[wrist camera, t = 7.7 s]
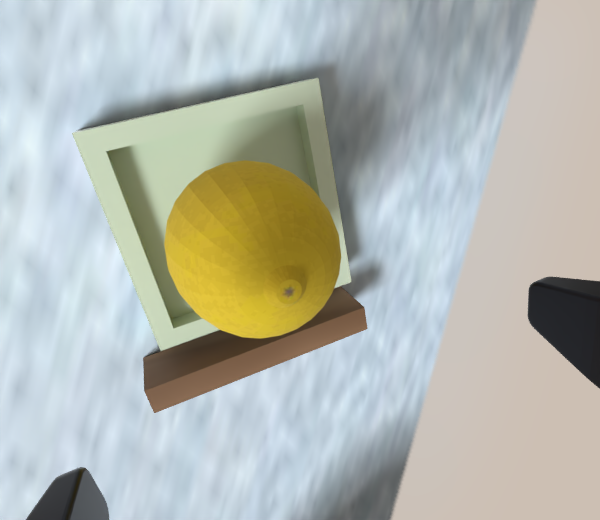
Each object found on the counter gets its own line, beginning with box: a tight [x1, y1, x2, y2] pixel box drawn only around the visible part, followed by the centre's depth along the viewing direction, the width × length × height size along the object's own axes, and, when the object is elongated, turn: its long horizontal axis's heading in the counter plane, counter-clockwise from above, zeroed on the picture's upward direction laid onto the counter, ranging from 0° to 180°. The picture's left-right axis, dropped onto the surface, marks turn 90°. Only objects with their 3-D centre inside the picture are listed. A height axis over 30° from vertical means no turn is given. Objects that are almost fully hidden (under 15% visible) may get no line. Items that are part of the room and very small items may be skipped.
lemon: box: [164, 160, 341, 339], centre depth 14 cm, size 6×6×8 cm
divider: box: [143, 286, 367, 413], centre depth 19 cm, size 1×10×2 cm, turn 102°
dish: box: [72, 78, 351, 351], centre depth 18 cm, size 9×9×2 cm
